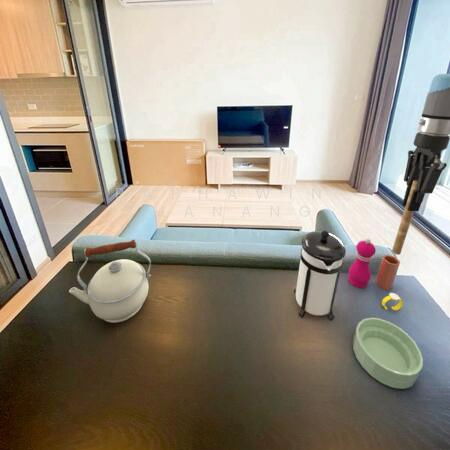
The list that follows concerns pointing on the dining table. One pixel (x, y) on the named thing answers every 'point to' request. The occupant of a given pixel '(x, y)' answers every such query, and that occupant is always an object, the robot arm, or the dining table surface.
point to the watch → (395, 298)
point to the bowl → (387, 353)
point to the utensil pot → (387, 272)
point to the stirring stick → (404, 223)
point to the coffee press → (319, 273)
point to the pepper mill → (362, 264)
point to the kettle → (115, 285)
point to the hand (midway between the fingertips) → (410, 207)
